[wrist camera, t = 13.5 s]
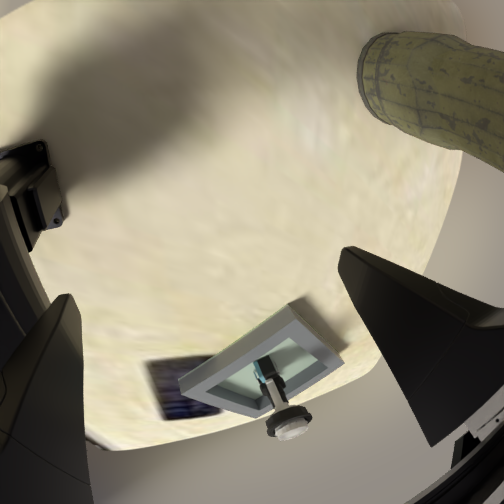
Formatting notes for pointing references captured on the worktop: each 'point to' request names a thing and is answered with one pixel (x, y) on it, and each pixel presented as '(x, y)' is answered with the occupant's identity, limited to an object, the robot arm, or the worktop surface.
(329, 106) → the worktop surface
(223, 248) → the worktop surface
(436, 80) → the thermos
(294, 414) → the push button
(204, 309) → the worktop surface
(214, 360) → the dock
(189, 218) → the worktop surface
